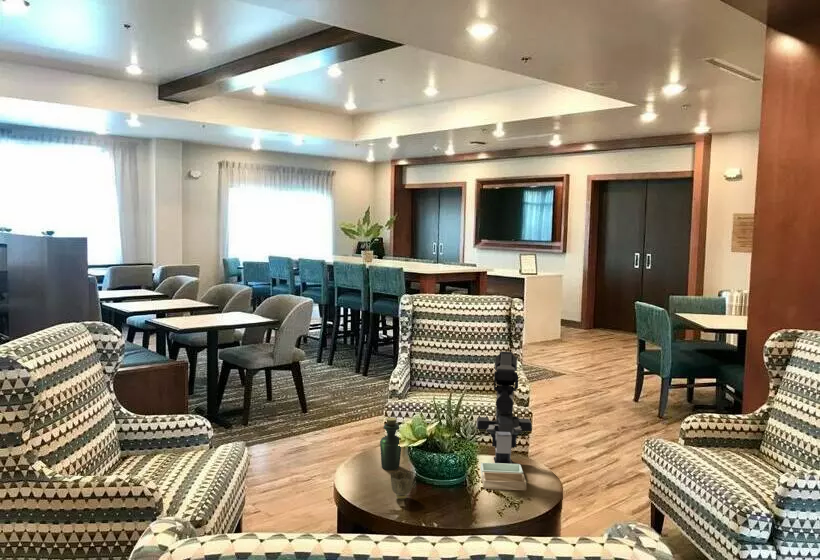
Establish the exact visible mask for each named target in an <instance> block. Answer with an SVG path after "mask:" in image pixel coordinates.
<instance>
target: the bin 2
mask: <svg viewBox="0 0 820 560" xmlns="http://www.w3.org/2000/svg"><path fill="white" fill-rule="evenodd" d="M481 481H482V488H483V489H489V490H490V489H491V490H510V491H512V490H514V491H527V486H528V485H527V484H528V483H527V479H526V477H525V474H524V473H523V474H518V473H495V472H482V475H481Z"/></svg>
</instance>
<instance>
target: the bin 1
mask: <svg viewBox="0 0 820 560" xmlns="http://www.w3.org/2000/svg"><path fill="white" fill-rule="evenodd" d="M482 472H495V473H518V474H524V471H523V468H522V465H521V463H512V464H505V463H495V462H480V474H481V476H482Z"/></svg>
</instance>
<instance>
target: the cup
mask: <svg viewBox="0 0 820 560" xmlns="http://www.w3.org/2000/svg"><path fill="white" fill-rule="evenodd" d="M389 475H390V484H391V491H392V492H393V493H394V494H395V498H396V499H397V500H400V501H403V500H406V499H408V494H410V492H412V491H411V490H412V488H413V483H414V474H413V473H412V472H411V471H409V470H408V471H406V470H404V471H402V470H398V471H396V470H394V473H393V472H391V473H390V474H389Z"/></svg>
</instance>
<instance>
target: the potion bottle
mask: <svg viewBox="0 0 820 560" xmlns="http://www.w3.org/2000/svg"><path fill="white" fill-rule="evenodd" d="M397 419H398V418H396V417H391V416H390V417H386V423H385V424H384V425H383V429H384V430H385V432H386V435H385V436H384V437H382V438H381V439H380V440H379V447H380V450H379V451H380V463H381V464H380V465H381V468H382V469H384V470H385V471H386V470H388V471H396V470H398V469H399V468H400V462H401V453H402V447H400V446H398V444H399V438H400V437H399V436H398V435H396V434H397V433H396V432H397V431H398V430H399V429H400V425H399V424H398V423H397Z"/></svg>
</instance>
